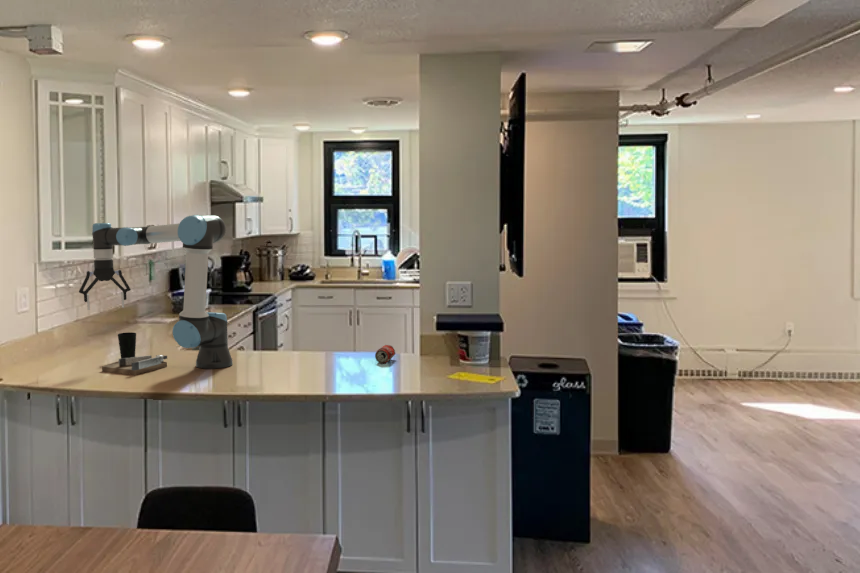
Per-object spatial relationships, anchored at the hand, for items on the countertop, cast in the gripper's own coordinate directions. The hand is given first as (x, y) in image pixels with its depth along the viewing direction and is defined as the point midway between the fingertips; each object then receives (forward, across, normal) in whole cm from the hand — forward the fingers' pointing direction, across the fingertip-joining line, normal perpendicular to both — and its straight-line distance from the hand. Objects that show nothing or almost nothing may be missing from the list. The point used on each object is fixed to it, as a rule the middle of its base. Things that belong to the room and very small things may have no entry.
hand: (106, 308), depth 324 cm
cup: (+25, -8, -7) cm, 27 cm away
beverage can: (+26, -109, +48) cm, 122 cm away
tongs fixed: (+23, -14, +20) cm, 33 cm away
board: (+25, -9, +14) cm, 30 cm away
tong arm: (+22, -10, +15) cm, 29 cm away
